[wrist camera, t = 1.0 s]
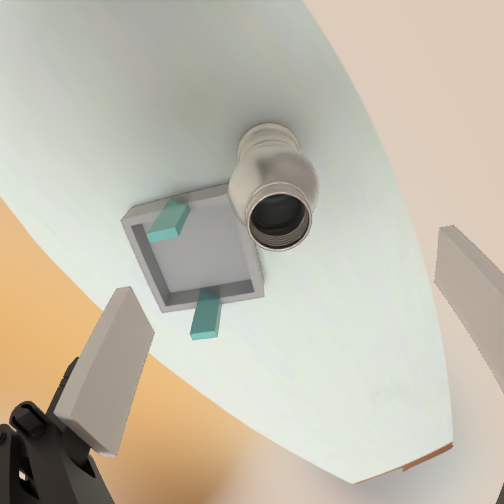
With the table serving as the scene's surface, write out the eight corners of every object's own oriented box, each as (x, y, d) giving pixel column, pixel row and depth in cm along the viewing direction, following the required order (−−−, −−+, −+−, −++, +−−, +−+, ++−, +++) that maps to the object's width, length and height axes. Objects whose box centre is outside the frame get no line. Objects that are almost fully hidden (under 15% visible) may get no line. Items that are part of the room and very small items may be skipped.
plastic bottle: (308, 143, 34) (362, 211, 17) (271, 187, 37) (285, 291, 20) (262, 108, 33) (271, 137, 15) (226, 155, 35) (196, 234, 18)
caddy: (131, 207, 38) (99, 245, 30) (238, 180, 37) (233, 214, 28) (168, 295, 45) (151, 344, 36) (263, 278, 43) (265, 330, 35)
